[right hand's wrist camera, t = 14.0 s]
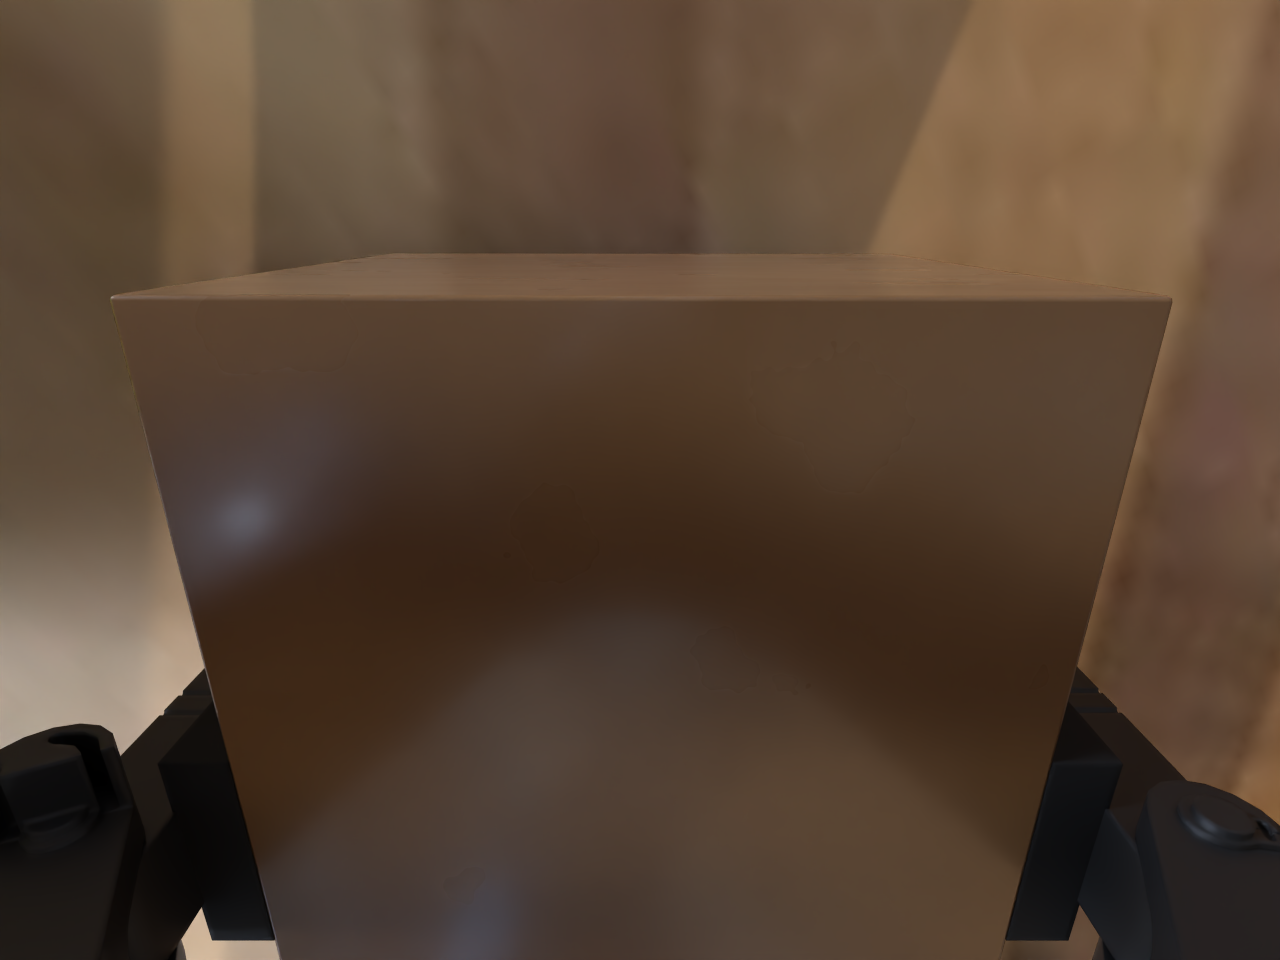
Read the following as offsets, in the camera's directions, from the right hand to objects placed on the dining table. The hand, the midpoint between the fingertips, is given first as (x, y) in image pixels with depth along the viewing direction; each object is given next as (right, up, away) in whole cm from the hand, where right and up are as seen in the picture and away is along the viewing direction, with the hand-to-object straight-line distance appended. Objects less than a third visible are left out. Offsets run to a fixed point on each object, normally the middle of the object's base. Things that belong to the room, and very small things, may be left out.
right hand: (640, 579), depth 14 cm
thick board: (0, -22, +9) cm, 24 cm away
